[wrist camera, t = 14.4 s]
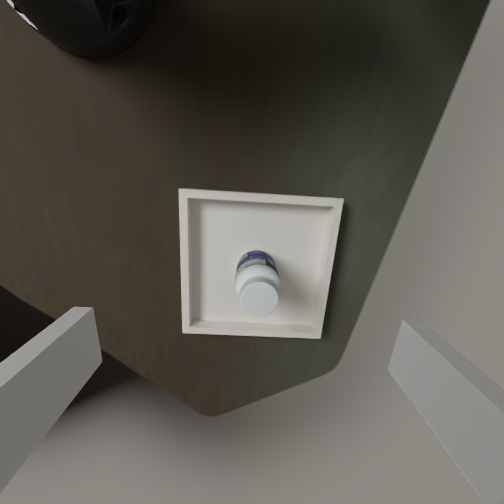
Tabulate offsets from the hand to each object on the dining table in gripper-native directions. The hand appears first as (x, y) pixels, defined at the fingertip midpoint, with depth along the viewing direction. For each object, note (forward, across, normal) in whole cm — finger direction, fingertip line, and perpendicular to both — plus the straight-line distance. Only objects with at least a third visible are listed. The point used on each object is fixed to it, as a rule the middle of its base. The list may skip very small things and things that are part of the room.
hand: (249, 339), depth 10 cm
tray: (+23, +2, -5) cm, 23 cm away
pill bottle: (+22, +2, -6) cm, 23 cm away
